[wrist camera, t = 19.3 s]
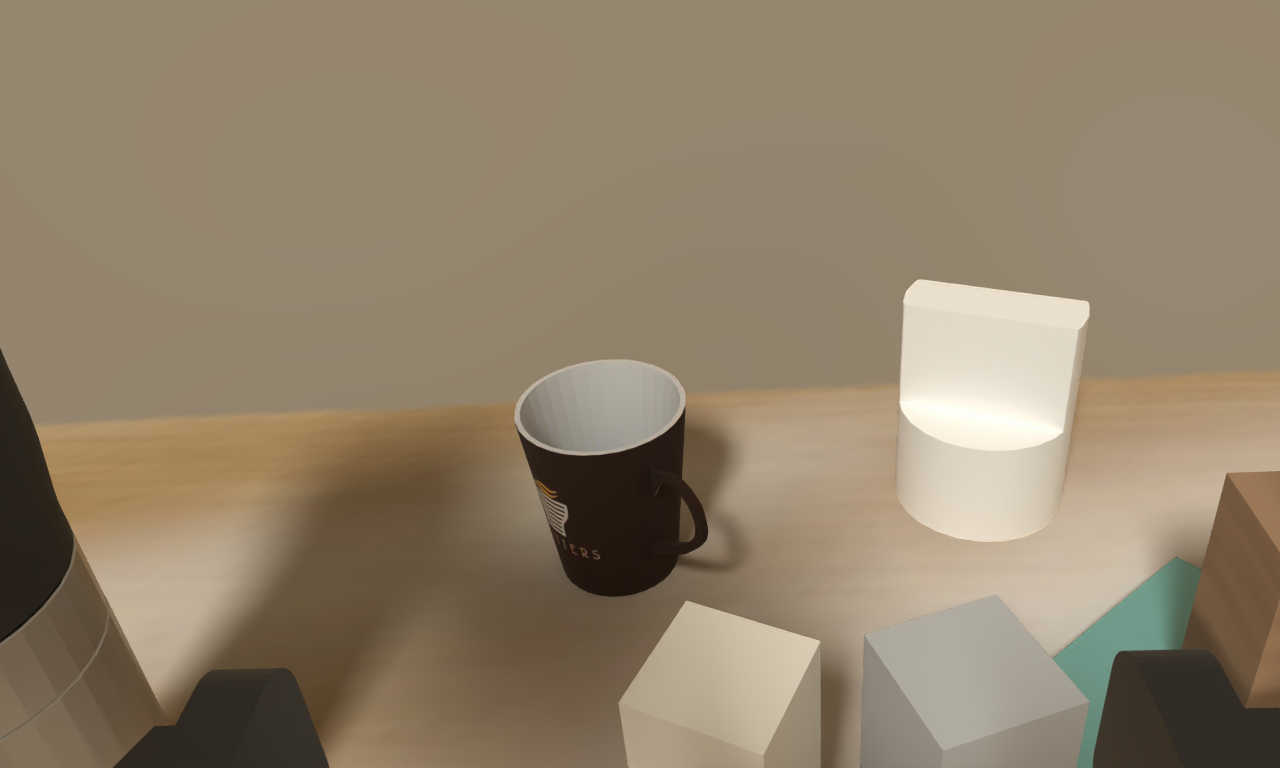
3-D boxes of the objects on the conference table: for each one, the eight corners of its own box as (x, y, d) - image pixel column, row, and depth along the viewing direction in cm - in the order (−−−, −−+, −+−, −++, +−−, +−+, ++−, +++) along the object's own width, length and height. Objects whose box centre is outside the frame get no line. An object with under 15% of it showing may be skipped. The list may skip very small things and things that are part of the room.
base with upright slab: (1072, 461, 61) (1101, 275, 54) (1045, 559, 54) (1075, 361, 48) (917, 431, 65) (928, 255, 58) (875, 519, 58) (881, 331, 52)
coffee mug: (535, 521, 61) (507, 375, 55) (680, 494, 62) (666, 347, 56) (558, 669, 51) (527, 509, 46) (730, 634, 52) (719, 473, 46)
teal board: (961, 755, 45) (964, 732, 44) (1170, 579, 52) (1176, 556, 51) (1370, 1072, 33) (1383, 1048, 33) (1562, 789, 41) (1577, 764, 40)
